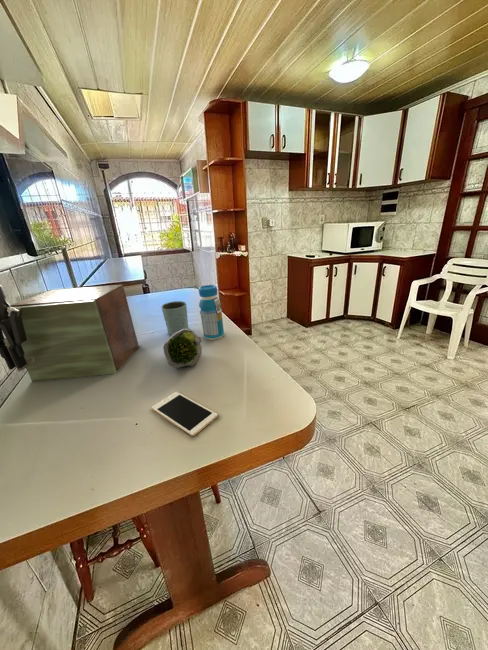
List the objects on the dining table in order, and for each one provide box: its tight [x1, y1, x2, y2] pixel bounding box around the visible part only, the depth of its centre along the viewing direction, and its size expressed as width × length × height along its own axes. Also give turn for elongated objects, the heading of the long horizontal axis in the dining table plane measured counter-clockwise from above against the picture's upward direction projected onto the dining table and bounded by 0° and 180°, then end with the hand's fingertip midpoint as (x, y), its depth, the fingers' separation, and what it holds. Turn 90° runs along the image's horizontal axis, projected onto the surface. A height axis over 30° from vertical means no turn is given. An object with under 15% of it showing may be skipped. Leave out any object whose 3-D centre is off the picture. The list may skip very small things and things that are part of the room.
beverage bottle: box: [198, 284, 225, 341], centre depth 103 cm, size 8×8×20 cm
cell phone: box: [151, 391, 218, 437], centre depth 65 cm, size 8×16×1 cm, turn 50°
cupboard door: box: [3, 300, 118, 382], centre depth 78 cm, size 7×26×24 cm, turn 92°
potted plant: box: [162, 328, 203, 369], centre depth 85 cm, size 12×13×15 cm
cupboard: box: [9, 284, 139, 372], centre depth 91 cm, size 18×26×24 cm
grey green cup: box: [161, 300, 189, 336], centre depth 111 cm, size 10×10×12 cm
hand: (18, 366), depth 76 cm, fingers closed on cupboard door, 2 cm apart
